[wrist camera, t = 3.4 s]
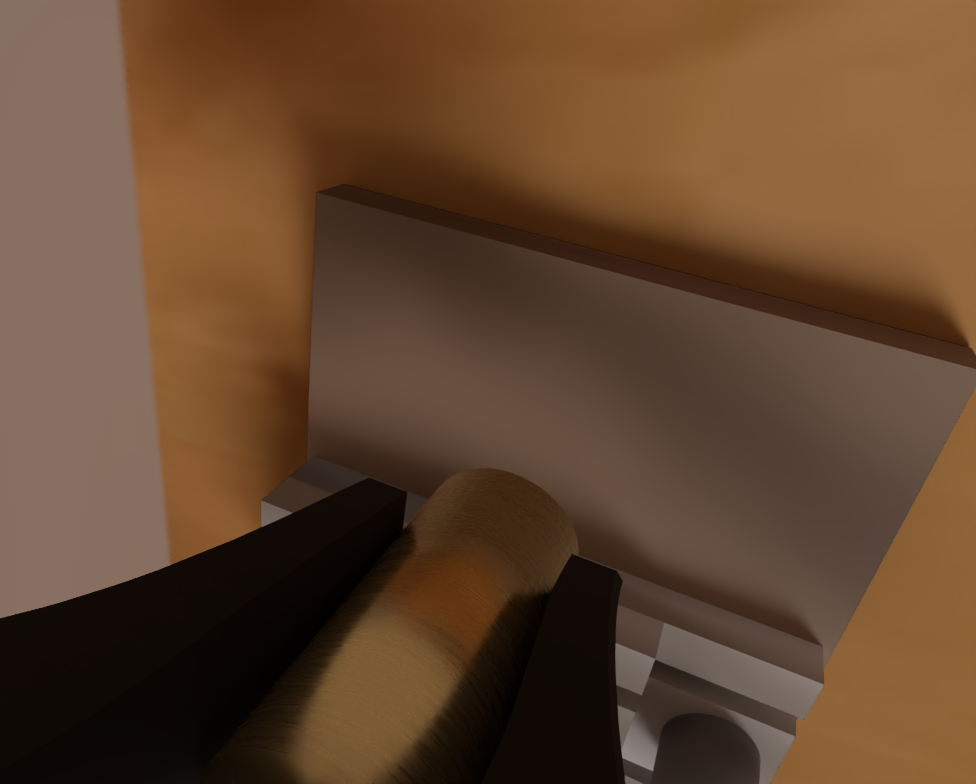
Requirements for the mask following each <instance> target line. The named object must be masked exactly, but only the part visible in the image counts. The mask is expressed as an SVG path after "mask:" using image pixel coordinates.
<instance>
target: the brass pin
mask: <svg viewBox="0 0 976 784" xmlns="http://www.w3.org/2000/svg"><path fill="white" fill-rule="evenodd" d="M571 554H574V555H576V556H579V546H578V540H577V536H576V533H575V530H574V528H573V526H572V524H571V522H570V520H569V518H568V516H567V515H566V513H565V512H564V510H563V509H562V508H561V507H560V505H559V504H558V503H557V502H556V501H555V500H554V499H553V498H552V497H551V496H550V495H549V494H548V493H547V492H545V491H544V490H543V489H542V488H540V487H539V486H537V485H536V484H534V483H533V482H531V481H529V480H527V479H525V478H523V477H521V476H519V475H516V474H513V473H511V472H507V471H503V470H498V469H490V468H478V469H470V470H466V471H463V472H460V473H457V474H455V475H453V476H451V477H450V478H448V479H447V480H445V481H444V482H443V483H442V484H441V485H440V486H439V487H438V488H437V490H436V491H435V492H434V493H433V494H432V496H431V497H430V498H429V499H428V500H427V502H426V503H425V504H424V505H423V506H422V508H421V509H420V510H419V511H418V512H417V514H416V515H415V516H414V517H413V519H412V520H411V521H410V522H409V523H408V525H407V526H406V527H405V528H404V529H403V531H402V532H401V533H400V534H399V535H398V537H397V538H396V539H395V540H394V541H393V543H392V544H391V545H390V546H389V547H388V549H387V550H386V551H385V552H384V553H383V555H382V556H381V557H380V558H379V559H378V561H377V562H376V563H375V564H374V565H373V567H372V568H371V569H370V570H369V571H368V573H367V574H366V575H365V576H364V577H363V579H362V580H361V581H360V582H359V583H358V585H357V586H356V587H355V588H354V589H353V591H352V592H351V593H350V594H349V595H348V597H347V598H346V599H345V600H344V601H343V603H342V604H341V605H340V606H339V607H338V609H337V610H336V611H335V612H334V613H333V615H332V616H331V617H330V618H329V619H328V621H327V622H326V623H325V624H324V625H323V627H322V628H321V629H320V630H319V632H318V633H317V634H316V635H315V636H314V638H313V639H312V640H311V641H310V642H309V644H308V645H307V646H306V647H305V648H304V650H303V651H302V652H301V653H300V654H299V656H298V657H297V658H296V659H295V660H294V662H293V663H292V664H291V665H290V666H289V668H288V669H287V670H286V671H285V672H284V674H283V675H282V676H281V677H280V678H279V680H278V681H277V682H276V683H275V684H274V686H273V687H272V688H271V689H270V690H269V692H268V693H267V694H266V695H265V696H264V698H263V699H262V700H261V701H260V702H259V704H258V705H257V706H256V707H255V708H254V710H253V711H252V712H251V713H250V714H249V716H248V717H247V718H246V719H245V720H244V722H243V723H242V724H241V725H240V726H239V728H238V729H237V730H236V731H235V732H234V734H233V735H232V736H231V737H230V738H229V740H228V741H227V742H226V743H225V745H224V746H223V747H222V748H221V749H220V751H219V752H218V753H217V754H216V755H215V757H214V758H213V759H212V760H211V761H210V763H209V764H208V765H207V766H206V768H205V769H204V770H203V772H202V775H201V777H200V781H199V784H481V782H482V780H483V778H484V776H485V774H486V772H487V770H488V768H489V765H490V763H491V761H492V759H493V757H494V755H495V753H496V751H497V749H498V746H499V744H500V742H501V739H502V737H503V734H504V731H505V729H506V726H507V724H508V721H509V719H510V716H511V713H512V710H513V707H514V704H515V701H516V698H517V695H518V692H519V689H520V686H521V683H522V680H523V677H524V674H525V671H526V668H527V665H528V662H529V659H530V656H531V652H532V649H533V646H534V643H535V640H536V637H537V634H538V631H539V628H540V625H541V622H542V619H543V616H544V613H545V610H546V607H547V604H548V601H549V598H550V595H551V592H552V589H553V586H554V584H555V583H556V581H557V579H558V577H559V575H560V573H561V572H562V570H563V568H564V566H565V565H566V563H567V561H568V560H569V558H570V556H571Z"/></svg>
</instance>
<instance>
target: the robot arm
mask: <svg viewBox="0 0 976 784" xmlns="http://www.w3.org/2000/svg"><path fill="white" fill-rule="evenodd" d="M406 499H407V492H406V491H404V490H401V489H398V488H396V487H393V486H390V485H388V484H385V483H382V482H380V481H377V480H374V479H372V478H367V479H365V480H362V481H360V482H358V483H355V484H353V485H351V486H349V487H347V488H345V489H343V490H340V491H338V492H336V493H334V494H332V495H330V496H328V497H326V498H324V499H321V500H319V501H317V502H315V503H313V504H311V505H309V506H307V507H304V508H302V509H300V510H298V511H296V512H294V513H292V514H290V515H287V516H285V517H283V518H281V519H279V520H276V521H274V522H272V523H270V524H268V525H265V526H263V527H261V528H259V529H257V530H254V531H252V532H250V533H248V534H245V535H243V536H241V537H239V538H237V539H234V540H232V541H229V542H227V543H224V544H222V545H219V546H217V547H214V548H212V549H209V550H207V551H204V552H202V553H199V554H197V555H194V556H192V557H189V558H187V559H185V560H182V561H180V562H177V563H175V564H172V565H170V566H167V567H165V568H162V569H160V570H157V571H154V572H152V573H149V574H146V575H143V576H140V577H138V578H135V579H132V580H129V581H126V582H124V583H120V584H117V585H115V586H111V587H108V588H105V589H102V590H99V591H95V592H92V593H89V594H86V595H83V596H80V597H76V598H73V599H70V600H67V601H64V602H60V603H57V604H53V605H50V606H46V607H43V608H39V609H35V610H31V611H27V612H23V613H19V614H15V615H12V616H8V617H4V618H0V784H199V781H200V777H201V775H202V772H203V770H204V769H205V768H206V766H207V765H208V764H209V763H210V761H211V760H212V759H213V758H214V757H215V755H216V754H217V753H218V752H219V751H220V749H221V748H222V747H223V746H224V745H225V743H226V742H227V741H228V740H229V738H230V737H231V736H232V735H233V734H234V732H235V731H236V730H237V729H238V728H239V726H240V725H241V724H242V723H243V722H244V720H245V719H246V718H247V717H248V716H249V714H250V713H251V712H252V711H253V710H254V708H255V707H256V706H257V705H258V704H259V702H260V701H261V700H262V699H263V698H264V696H265V695H266V694H267V693H268V692H269V690H270V689H271V688H272V687H273V686H274V684H275V683H276V682H277V681H278V680H279V678H280V677H281V676H282V675H283V674H284V672H285V671H286V670H287V669H288V668H289V666H290V665H291V664H292V663H293V662H294V660H295V659H296V658H297V657H298V656H299V654H300V653H301V652H302V651H303V650H304V648H305V647H306V646H307V645H308V644H309V642H310V641H311V640H312V639H313V638H314V636H315V635H316V634H317V633H318V632H319V630H320V629H321V628H322V627H323V625H324V624H325V623H326V622H327V621H328V619H329V618H330V617H331V616H332V615H333V613H334V612H335V611H336V610H337V609H338V607H339V606H340V605H341V604H342V603H343V601H344V600H345V599H346V598H347V597H348V595H349V594H350V593H351V592H352V591H353V589H354V588H355V587H356V586H357V585H358V583H359V582H360V581H361V580H362V579H363V577H364V576H365V575H366V574H367V573H368V571H369V570H370V569H371V568H372V567H373V565H374V564H375V563H376V562H377V561H378V559H379V558H380V557H381V556H382V555H383V553H384V552H385V551H386V550H387V549H388V547H389V546H390V545H391V544H392V543H393V541H394V540H395V539H396V538H397V537H398V535H399V534H400V533H401V532H402V531H403V524H404V515H405V507H406ZM622 583H623V580H622V578H621V577H620V575H619V573H618V572H617V571H616V570H614V569H611V568H608V567H606V566H603V565H600V564H598V563H595V562H592V561H590V560H587V559H584V558H582V557H579V556H576V555H574V554H571V556H570V558H569V560H568V561H567V563H566V565H565V566H564V568H563V570H562V572H561V573H560V575H559V577H558V579H557V581H556V583H555V584H554V586H553V589H552V592H551V595H550V598H549V601H548V604H547V607H546V610H545V613H544V616H543V619H542V622H541V625H540V628H539V631H538V634H537V637H536V640H535V643H534V646H533V649H532V652H531V656H530V659H529V662H528V665H527V668H526V671H525V674H524V677H523V680H522V683H521V686H520V689H519V692H518V695H517V698H516V701H515V704H514V707H513V710H512V713H511V716H510V719H509V721H508V724H507V726H506V729H505V731H504V734H503V737H502V739H501V742H500V744H499V746H498V749H497V751H496V753H495V755H494V757H493V759H492V761H491V763H490V765H489V768H488V770H487V772H486V774H485V776H484V778H483V780H482V782H481V784H626V782H625V775H624V767H623V759H622V751H621V741H620V731H619V719H618V703H617V686H616V661H615V649H616V620H617V609H618V601H619V595H620V590H621V586H622Z"/></svg>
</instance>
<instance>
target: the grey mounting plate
mask: <svg viewBox="0 0 976 784" xmlns="http://www.w3.org/2000/svg"><path fill="white" fill-rule="evenodd" d="M975 387H976V355H975V353H974V351H973V350H972V348H968V347H964V346H961V345H957V344H953V343H949V342H945V341H941V340H938V339H934V338H930V337H926V336H922V335H919V334H915V333H911V332H907V331H903V330H899V329H896V328H892V327H888V326H884V325H880V324H876V323H873V322H869V321H865V320H861V319H857V318H853V317H850V316H846V315H842V314H838V313H834V312H831V311H827V310H823V309H819V308H815V307H811V306H808V305H804V304H800V303H796V302H792V301H788V300H785V299H781V298H777V297H773V296H769V295H766V294H762V293H758V292H754V291H750V290H746V289H743V288H739V287H735V286H731V285H727V284H723V283H720V282H716V281H712V280H708V279H704V278H700V277H697V276H693V275H689V274H685V273H681V272H678V271H674V270H670V269H666V268H662V267H658V266H655V265H651V264H647V263H643V262H639V261H635V260H632V259H628V258H624V257H620V256H616V255H613V254H609V253H605V252H601V251H597V250H593V249H590V248H586V247H582V246H578V245H574V244H570V243H567V242H563V241H559V240H555V239H551V238H547V237H544V236H540V235H536V234H532V233H528V232H525V231H521V230H517V229H513V228H509V227H505V226H502V225H498V224H494V223H490V222H486V221H482V220H479V219H475V218H471V217H467V216H463V215H460V214H456V213H452V212H448V211H444V210H440V209H437V208H433V207H429V206H425V205H421V204H417V203H414V202H410V201H406V200H402V199H398V198H394V197H391V196H387V195H383V194H379V193H375V192H372V191H368V190H364V189H360V188H356V187H352V186H349V185H345V184H342V185H339V186H336V187H332V188H329V189H326V190H323V191H320V192H316V213H315V241H314V269H313V296H312V324H311V352H310V380H309V408H308V435H307V462H306V463H305V464H304V465H303V466H301V467H300V468H299V469H298V470H297V471H295V472H294V473H293V474H292V475H291V476H290V477H288V478H287V479H286V480H285V481H284V482H282V483H281V484H280V485H279V486H278V487H276V488H275V489H274V490H273V491H272V492H271V493H269V494H268V495H267V496H266V497H265V498H263V499H262V500H261V527H263V526H265V525H268V524H270V523H272V522H274V521H276V520H279V519H281V518H283V517H285V516H287V515H290V514H292V513H294V512H296V511H298V510H300V509H302V508H304V507H307V506H309V505H311V504H313V503H315V502H317V501H319V500H321V499H324V498H326V497H328V496H330V495H332V494H334V493H336V492H338V491H340V490H343V489H345V488H347V487H349V486H351V485H353V484H355V483H358V482H360V481H362V480H365V479H367V478H372V479H374V480H377V481H380V482H382V483H385V484H388V485H390V486H393V487H396V488H398V489H401V490H404V491H406V492H407V499H406V507H405V515H404V524H403V529H404V528H405V527H406V526H407V525H408V523H409V522H410V521H411V520H412V519H413V517H414V516H415V515H416V514H417V512H418V511H419V510H420V509H421V508H422V506H423V505H424V504H425V503H426V502H427V500H428V499H429V498H430V497H431V496H432V494H433V493H434V492H435V491H436V490H437V488H438V487H439V486H440V485H441V484H442V483H443V482H444V481H445V480H447V479H448V478H450V477H451V476H453V475H455V474H457V473H460V472H463V471H466V470H470V469H478V468H490V469H498V470H503V471H507V472H511V473H513V474H516V475H519V476H521V477H523V478H525V479H527V480H529V481H531V482H533V483H534V484H536V485H537V486H539V487H540V488H542V489H543V490H544V491H545V492H547V493H548V494H549V495H550V496H551V497H552V498H553V499H554V500H555V501H556V502H557V503H558V504H559V505H560V507H561V508H562V509H563V510H564V512H565V513H566V515H567V516H568V518H569V520H570V522H571V524H572V526H573V528H574V530H575V533H576V536H577V540H578V546H579V557H582V558H584V559H587V560H590V561H592V562H595V563H598V564H600V565H603V566H606V567H608V568H611V569H614V570H616V571H617V572H618V573H619V575H620V577H621V578H622V580H623V583H622V586H621V590H620V595H619V601H618V609H617V620H616V649H615V661H616V686H617V703H618V719H619V731H620V741H621V751H622V759H623V767H624V775H625V782H626V784H770V782H771V781H772V779H773V777H774V775H775V773H776V772H777V770H778V768H779V766H780V764H781V762H782V761H783V759H784V757H785V755H786V753H787V751H788V750H789V748H790V746H791V744H792V742H793V740H794V739H795V737H796V720H797V718H798V717H799V718H801V719H804V720H805V718H806V717H807V715H808V713H809V711H810V709H811V707H812V706H813V704H814V702H815V700H816V698H817V696H818V695H819V693H820V691H821V689H822V687H823V686H824V668H825V666H826V664H827V662H828V660H829V659H830V657H831V655H832V653H833V651H834V649H835V647H836V646H837V644H838V642H839V640H840V638H841V636H842V634H843V633H844V631H845V629H846V627H847V625H848V623H849V621H850V620H851V618H852V616H853V614H854V612H855V610H856V608H857V607H858V605H859V603H860V601H861V599H862V597H863V595H864V594H865V592H866V590H867V588H868V586H869V584H870V582H871V581H872V579H873V577H874V575H875V573H876V571H877V569H878V568H879V566H880V564H881V562H882V560H883V558H884V556H885V555H886V553H887V551H888V549H889V547H890V545H891V543H892V542H893V540H894V538H895V536H896V534H897V532H898V530H899V529H900V527H901V525H902V523H903V521H904V519H905V517H906V516H907V514H908V512H909V510H910V508H911V506H912V504H913V503H914V501H915V499H916V497H917V495H918V493H919V491H920V490H921V488H922V486H923V484H924V482H925V480H926V478H927V477H928V475H929V473H930V471H931V469H932V467H933V465H934V464H935V462H936V460H937V458H938V456H939V454H940V452H941V451H942V449H943V447H944V445H945V443H946V441H947V439H948V438H949V436H950V434H951V432H952V430H953V428H954V426H955V424H956V423H957V421H958V419H959V417H960V415H961V413H962V411H963V410H964V408H965V406H966V404H967V402H968V400H969V398H970V397H971V395H972V393H973V391H974V389H975Z"/></svg>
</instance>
